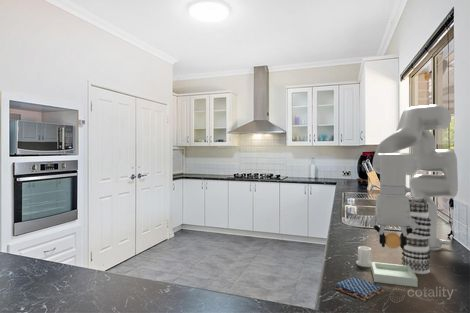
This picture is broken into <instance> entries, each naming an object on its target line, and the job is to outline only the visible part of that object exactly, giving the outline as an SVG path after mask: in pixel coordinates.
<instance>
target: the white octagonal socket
mask: <svg viewBox="0 0 470 313" xmlns="http://www.w3.org/2000/svg"><path fill="white" fill-rule="evenodd" d="M355 262H356V266H358V267H363V268H371V262H372V248H371V247H368V246H360V245H359V246H358V247H357V260H356V261H355Z"/></svg>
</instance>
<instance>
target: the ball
mask: <svg viewBox="0 0 470 313" xmlns="http://www.w3.org/2000/svg"><path fill="white" fill-rule="evenodd" d="M384 235H385V246H386V247H388V248H389V249H397V248H399V247H400V245H401V238H400V235H399V234H397V233H396V232H388V233H386V234H384Z"/></svg>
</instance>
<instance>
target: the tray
mask: <svg viewBox="0 0 470 313" xmlns="http://www.w3.org/2000/svg"><path fill="white" fill-rule="evenodd" d="M370 269H371V273H372V274H371V275H372V276H373V281H374V283H381V284H389V285H398V286H406V287H414V288H418V287H419V286H418V282H419V281H418V277H417V276H416V273H414V272H413V270H412V268H411V267H410V266H408V265H403V264H396V263H386V262H377V261H371V267H370Z"/></svg>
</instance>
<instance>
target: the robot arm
mask: <svg viewBox="0 0 470 313" xmlns="http://www.w3.org/2000/svg"><path fill="white" fill-rule="evenodd" d="M451 122H452V114H451V112H450V110H449V109H448V108H447V107H445V106H444V105H440V104H429V105H428V104H427V105H418V106H410V107H407V108H405V109H404V110H403V111H402V113H401V115H400V119H399V121H398V125H397V127H396V132H395V131H394V133H392V134H390V135H389V136H387V137H385V139H383V140H382V141H380V143H379V144H377V145H378V146H376V149H375V152H374V155H373V158H372V168H373V171H374V172H375V173H377V174H379V193H378V194H377V196H376V201H375V209H374V210H375V212H374V215H373V216H372V217H371V218H370V219H369V220H368V225H369V226H371V227H372V228H374V230H375V231H376V232H377V233H378V235H379V236H378V237H379V244H381V247H382V248H385V247H386V244H385V235H386V234H385V228H386V227H398V228H400V231H401V233H400V235H399V237H400V238H401V245H400V246H399V247H400V248H401V250H402V249H404V246H406V236H407V235H408V234H409V233H411V232H412V231H413V230H415V229H416V228H418V225H417V224H416V222H415V221H414V220H413V219H412V218H411V214H410V204H409V198H408V197H409V196H408V195H407V194H408V193H411V194H410V195H411V196H410V197H419V198H424V199H426V201H427V202H428V203H429V204H428V212H429V216H428V218H429V219H431V221H428V223H430V224H431V226H428V229H430V232H428V233H429V234H430V238H428V245H429V251H430V252H433V251H434V252H435V251H441V250H442V248H443V245H446V246H451V245H452V242H451V240H450V239H449V240H448V239H447V240H446V239H442V238H440V237H438V206H437V204H436V203H435V201H434V200H433V199H432V198H442V199H443V198H447V199H449V198H450V199H451V198H455V197H456V196H457V195H458V191H459V190H458V189H459V188H458V186H459V185H458V184H459V183H458V182H459V180H458V158H457V155H456V153H455V152H454V150H452V149H447V148H446V149H437V147H436V137H435V135H434V134H433V133H432V130H433V131H434V130H435V131H436V130H447V129H448V128H449V127H450V126H451ZM411 147H412V152H411V153H410V152H398V151H401V150H405V149H408V148H411ZM416 172H431V173H432V172H435V173H436V172H437V173H442V174H433V173H432V174H431V173H430V174H427V173H423V174H422V173H418V174H416ZM414 174H415V175H414ZM412 175H413V176H412ZM407 176H412V177H411V178H410V179H409V187H407V179H406V178H407ZM375 222H376V223H375ZM410 224H412V225H411V226H410ZM378 225H379V226H378ZM408 226H410V227H408ZM405 227H408V228H407V229H406V228H405Z"/></svg>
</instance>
